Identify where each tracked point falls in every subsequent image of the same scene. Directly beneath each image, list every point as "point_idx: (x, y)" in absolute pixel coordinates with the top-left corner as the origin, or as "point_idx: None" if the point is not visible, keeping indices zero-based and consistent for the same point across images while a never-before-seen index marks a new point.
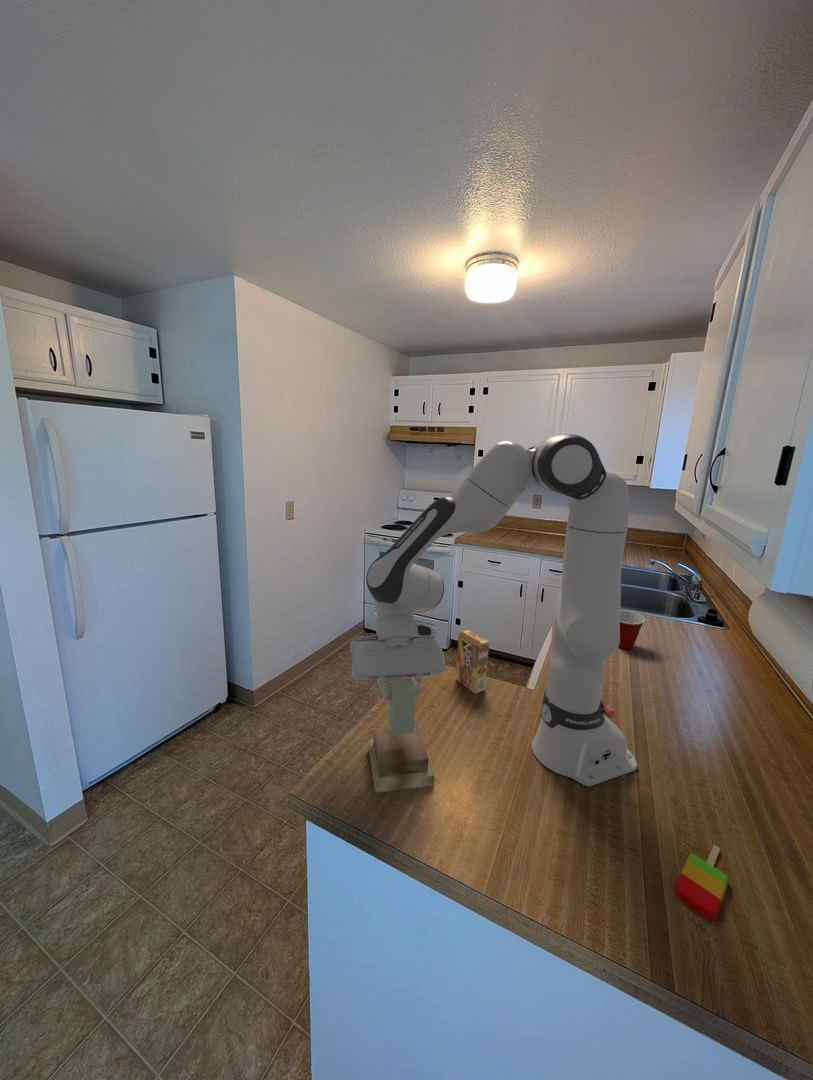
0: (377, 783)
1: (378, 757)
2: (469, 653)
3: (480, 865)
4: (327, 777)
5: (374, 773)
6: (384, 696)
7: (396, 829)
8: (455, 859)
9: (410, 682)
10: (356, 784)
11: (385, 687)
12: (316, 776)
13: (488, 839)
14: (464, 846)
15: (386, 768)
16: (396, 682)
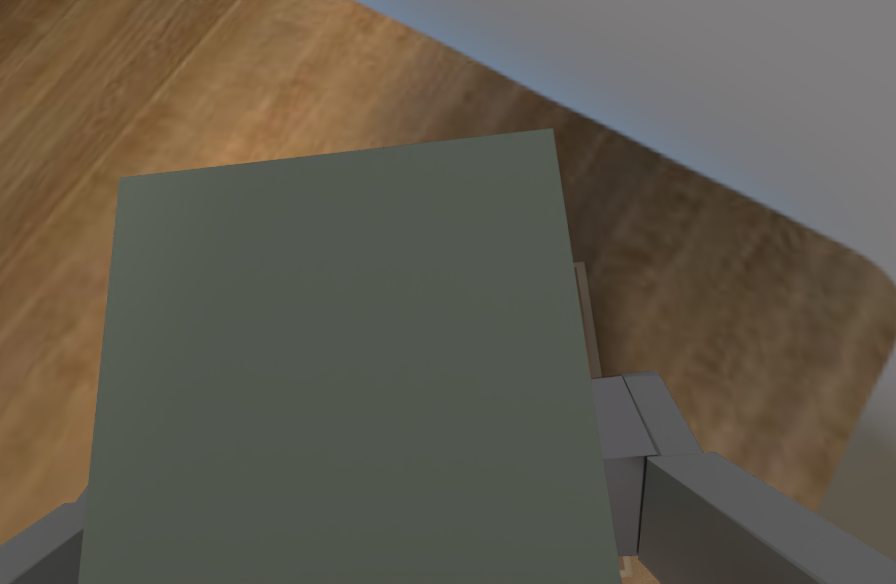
0: (573, 263)
1: (584, 322)
2: None
3: (257, 16)
4: (810, 374)
5: (590, 314)
6: (665, 396)
7: (495, 124)
8: (323, 32)
9: (152, 447)
10: (662, 325)
11: (696, 484)
12: (867, 383)
13: (200, 85)
14: (283, 66)
15: None
16: (477, 456)
